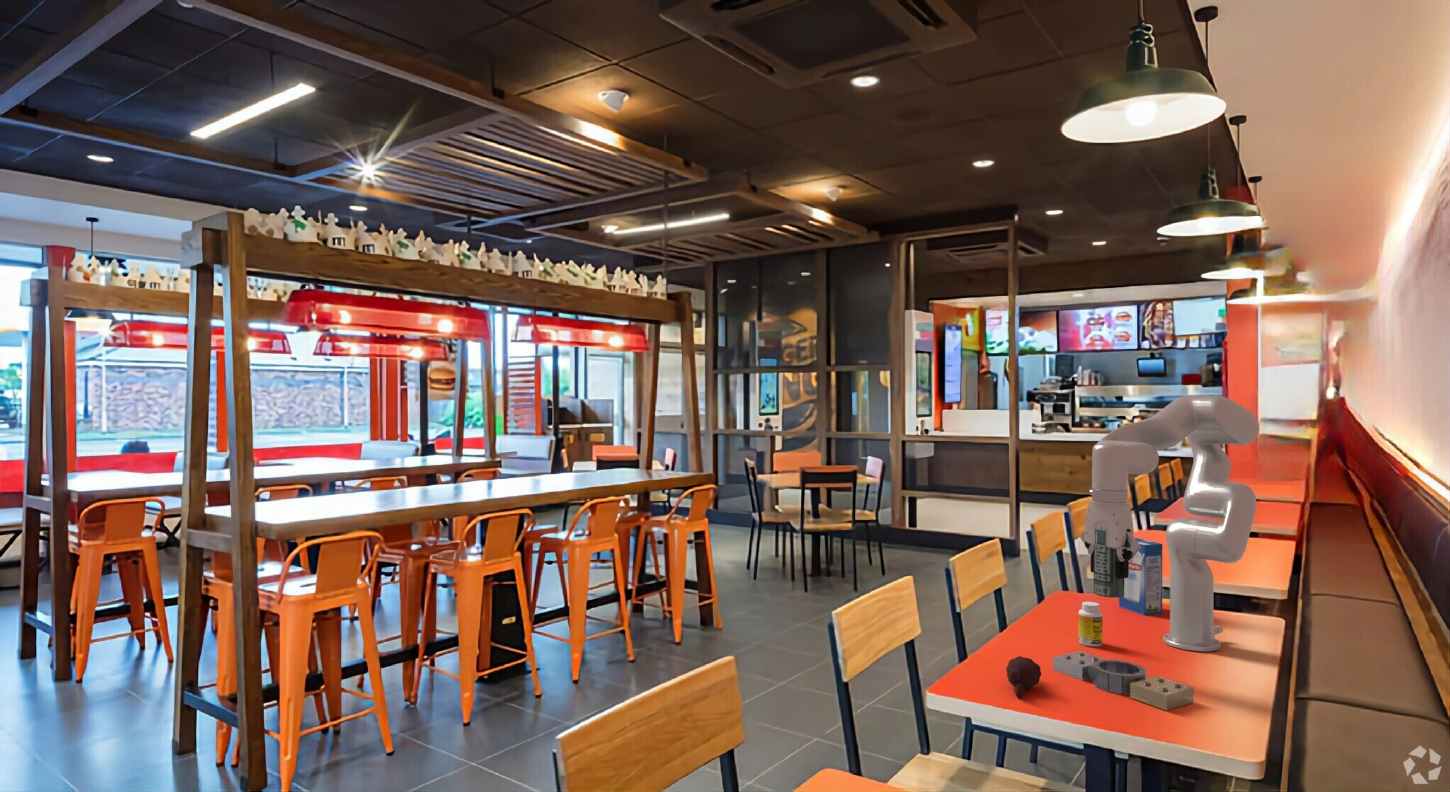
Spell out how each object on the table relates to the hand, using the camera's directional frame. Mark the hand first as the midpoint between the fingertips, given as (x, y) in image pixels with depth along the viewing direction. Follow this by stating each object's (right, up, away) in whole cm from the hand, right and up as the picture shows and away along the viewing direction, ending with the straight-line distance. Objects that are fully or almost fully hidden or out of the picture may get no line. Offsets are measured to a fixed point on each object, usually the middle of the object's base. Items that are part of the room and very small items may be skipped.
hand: (1109, 574), depth 191 cm
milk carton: (+32, -21, +50) cm, 63 cm away
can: (0, -5, 0) cm, 5 cm away
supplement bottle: (+4, -22, +19) cm, 29 cm away
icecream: (-24, -22, -11) cm, 35 cm away
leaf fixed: (-5, -22, -7) cm, 23 cm away
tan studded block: (+2, -22, -19) cm, 29 cm away
